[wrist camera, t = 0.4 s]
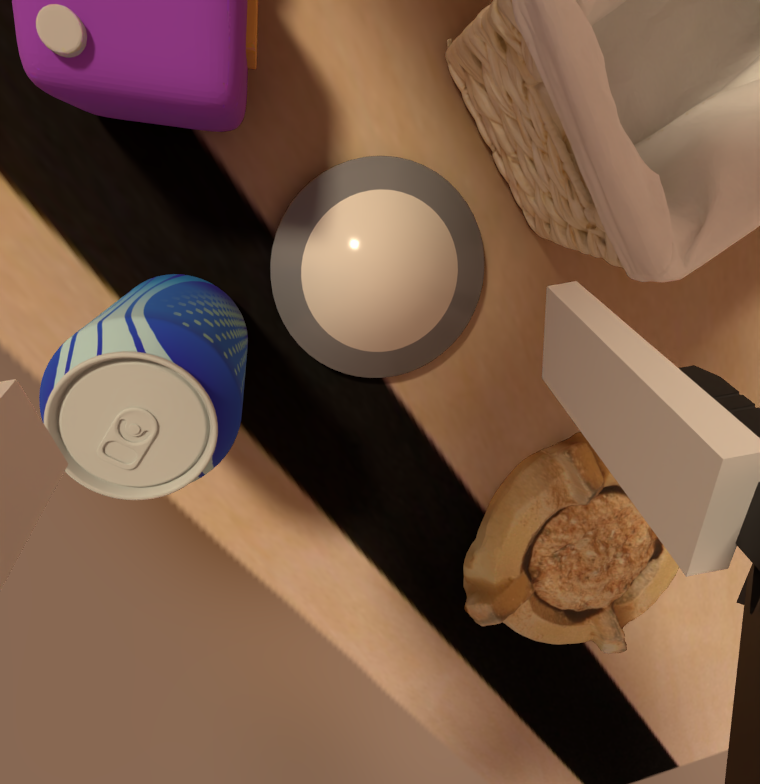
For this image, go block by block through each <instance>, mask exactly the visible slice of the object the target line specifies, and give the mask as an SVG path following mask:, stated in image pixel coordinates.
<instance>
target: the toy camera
mask: <svg viewBox="0 0 760 784" xmlns="http://www.w3.org/2000/svg"><path fill="white" fill-rule="evenodd" d="M12 4H13V12H14V21H15V29H16V37H17V43H18V49H19V55H20V58H21V61H22V65H23V68H24V70H25V72H26V74H27V76H28V77H29V78H30V79H31V81H32V82H33V83H34V84H35V85H36V86H37V87H39V88H40V89H42V90H43V91H45V92H46V93H48V94H50V95H52V96H54V97H56V98H58V99H60V100H62V101H64V102H66V103H69V104H71V105H73V106H75V107H78V108H80V109H82V110H84V111H87V112H90V113H92V114H95V115H99V116H103V117H108V118H115V119H121V120H128V121H136V122H143V123H151V124H159V125H166V126H174V127H181V128H189V129H196V130H205V131H218V132H223V131H231V130H233V129H235V128H237V127H238V126H239V125H240V124H241V122H242V120H243V118H244V115H245V110H246V103H247V79H248V68H250V69H256V68H257V25H258V0H12Z"/></svg>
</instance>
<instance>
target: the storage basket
mask: <svg viewBox="0 0 760 784" xmlns="http://www.w3.org/2000/svg"><path fill="white" fill-rule="evenodd" d="M447 47H448V48H447V51H446V53H445V57H446V60H447V63H448V68H449V71H450V74H451V76H452V78H453V80H454V82H455V83H456V85H457V87H458V88H459V90H460V91H461V92H462V97H463V100H464V103H465V105H466V107H467V108H468V110H469V111H470V113H471V115H472V116H473V118H474V119H475V121H476V124H477V127H478V130H479V132H480V134H481V136H482V137H483V139H484V141H485V143H486V144H487V145H488V146H489V147H490V148H491V150H492V152H493V154H492V156H493V159H494V161H495V163H496V165H497V168H498V170H499V172H500V173H501V175H502V176H503V177H504V179H505V180H506V181H507V182H508V183H509V186H510V189H511V192H512V194H513V196H514V199H515V200H516V202H517V204H518V205H519V206H520V207H521V209H522V210H523V214H524V216H525V218H526V220H527V222H528V224H529V225H530V227H531V229H532V230H533V231H534V232H535V233H536V234H537V235H538V236H540V237H541V238H543V239H548V240H550V241H553V242H554V243H555V244H559V245H562V246H563V247H565V248H570V249H573V250H578V251H580V252H581V253H583V254H586V255H588V254H590V255H591V256H593V257H596V258H600V257H602V258H603V259H604V260H606V262H608V263H609V264H611V265H613V266H617V267H622V268H623V269H625V271H626V274H627V276H629V277H630V278H631V279H633V280H637V281H640V282H649V281H653V282H669V281H676V280H680V279H682V278H684V277H685V276H687V275H688V274H690V273H691V272H693V271H694V270H696V269H697V268H699V267H701V266H702V265H704V264H705V263H707V262H708V261H709V260H711V259H712V258H714V257H715V256H717V255H718V254H720V253H721V252H723V251H724V250H726V249H727V248H728V247H730V246H731V245H733V244H734V243H736V242H737V241H739V240H740V239H742V238H743V237H745V236H746V235H747V234H749V233H750V232H752V231H753V230H755V229H756V228H758V227H759V226H760V0H493V2H492V3H491V4H490V5H488V6H486V7H485V8H484V9H482V10H481V11H480V13H479V14H478V15H477V17H476V18H475V19H474V20H473V21H472V22H470V24H469V25H468V26H467V27H466V28H465V29H464V30H463V32H462V33H461V34H460V35H459V36H458V37H457V38H456V39H455V40H454V41H453V42H452V39H448V40H447Z"/></svg>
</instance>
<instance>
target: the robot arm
mask: <svg viewBox="0 0 760 784" xmlns="http://www.w3.org/2000/svg"><path fill="white" fill-rule="evenodd" d="M542 379H543V380H544V382H545V383H546V384H547V386H548V387H549V389H550V390H551V391H552V393H553V394H554V395H555V397H556V398H557V400H558V401H559V402H560V404H561V405H562V406H563V408H564V409H565V411H566V412H567V413H568V415H569V416H570V417H571V419H572V420H573V422H574V423H575V424H576V426H577V427H578V428H579V430H580V431H581V433H582V434H583V435H584V437H585V438H586V439H587V441H588V442H589V444H590V445H591V446H592V448H593V449H594V450H595V452H596V453H597V455H598V456H599V457H600V459H601V460H602V461H603V463H604V464H605V466H606V467H607V468H608V470H609V471H610V472H611V474H612V475H613V477H614V478H615V479H616V481H617V482H618V483H619V485H620V486H621V488H622V489H623V490H624V492H625V493H626V494H627V496H628V497H629V499H630V500H631V501H632V503H633V504H634V505H635V507H636V508H637V510H638V511H639V512H640V514H641V515H642V516H643V518H644V519H645V521H646V522H647V523H648V525H649V526H650V527H651V529H652V530H653V532H654V533H655V534H656V536H657V537H658V538H659V540H660V541H661V543H662V544H663V545H664V547H665V548H666V549H667V551H668V552H669V554H670V555H671V556H672V558H673V559H674V560H675V562H676V563H677V565H678V566H679V567H680V569H681V570H682V571H683V573H684V574H685V576H686V577H687V576H692V575H697V574H702V573H707V572H712V571H717V570H722V569H727V568H728V567H729V565H730V562H731V560H732V557H733V554H734V552H735V549H736V546H738V547H739V548H740V549H741V550H742V551H743V553H744V554H745V555H746V556H747V557H748V558H749V559H750V561H751V562H752V563H753V564H752V566H751V569H750V571H749V573H748V576H747V578H746V581H745V583H744V585H743V588H742V590H741V593H740V595H739V597H738V600H737V603H740V604H742V605H744V613H743V622H742V631H741V640H740V649H739V659H738V668H737V677H736V686H735V695H734V704H733V713H732V722H731V731H730V740H729V749H728V759H727V767H726V778H725V784H760V408H755V404H754V403H753V402H751V401H750V400H749V399H747V398H746V397H745V396H744V395H739V391H737V390H736V389H735V388H734V387H732V386H731V385H730V384H729V383H727V382H726V381H725V380H724V379H722V378H721V377H719V376H717V375H715V374H713V373H710V372H708V371H706V370H703V369H701V368H699V367H696V366H694V365H693V366H688V367H683V368H677V367H676V366H675V365H674V364H673V363H672V362H670V361H669V360H668V359H667V358H666V357H665V356H663V355H662V354H661V353H660V352H659V351H658V350H656V349H655V348H654V347H653V346H652V345H651V344H649V343H648V342H647V341H646V340H645V339H644V338H642V337H641V336H640V335H639V334H638V333H637V332H635V331H634V330H633V329H632V328H631V327H630V326H628V325H627V324H626V323H625V322H624V321H623V320H621V319H620V318H619V317H618V316H617V315H616V314H614V313H613V312H612V311H611V310H610V309H609V308H607V307H606V306H605V305H604V304H603V303H602V302H600V301H599V300H598V299H597V298H596V297H595V296H593V295H592V294H591V293H590V292H589V291H588V290H586V289H585V288H584V287H583V286H582V285H581V284H579V283H578V282H577V281H573V282H568V283H562V284H556V285H551V286H547V292H546V310H545V329H544V348H543V367H542ZM67 466H68V462H67V461H66V459H65V458H64V456H63V454H62V453H61V451H60V449H59V448H58V446H57V444H56V443H55V441H54V440H53V438H52V436H51V435H50V433H49V431H48V430H47V428H46V427H45V425H44V423H43V422H42V420H41V418H40V417H39V415H38V413H37V412H36V410H35V409H34V407H33V405H32V404H31V402H30V400H29V399H28V397H27V396H26V394H25V392H24V391H23V389H22V387H21V386H20V384H19V383H18V381H17V379H14V380H8V381H3V382H0V590H1V589H2V587H3V585H4V583H5V581H6V579H7V578H8V576H9V574H10V572H11V570H12V568H13V566H14V565H15V563H16V561H17V559H18V557H19V555H20V553H21V551H22V550H23V548H24V546H25V544H26V542H27V540H28V539H29V536H30V535H31V533H32V531H33V529H34V527H35V525H36V524H37V522H38V520H39V518H40V516H41V514H42V513H43V511H44V509H45V507H46V505H47V503H48V501H49V499H50V498H51V496H52V494H53V492H54V490H55V488H56V486H57V484H58V483H59V481H60V479H61V477H62V475H63V473H64V472H65V470H66V468H67Z"/></svg>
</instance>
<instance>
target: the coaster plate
mask: <svg viewBox="0 0 760 784" xmlns="http://www.w3.org/2000/svg"><path fill="white" fill-rule="evenodd" d="M270 274H271V284H272V291H273V296H274V299H275V303H276V306H277V309H278V312H279V314H280V316H281V319H282V321H283V323H284V324H285V326H286V328H287V329H288V331H289V333H290V334H291V335H292V337H293V338H294V339H295V340H296V342H297V343H298V344H299V345H300V346H301V347H302V348H303V349H304V350H305V351H306V352H307V353H308V354H309V355H311V356H312V357H313V358H315V359H316V360H317V361H319V362H320V363H322V364H324V365H326V366H328V367H330V368H331V369H334V370H337V371H339V372H342V373H345V374H349V375H353V376H357V377H366V378H384V377H391V376H397V375H400V374H404V373H408V372H410V371H413V370H415V369H418V368H420V367H422V366H424V365H426V364H427V363H429V362H431V361H432V360H434V359H435V358H437V357H438V356H439V355H441V354H442V353H443V352H444V351H445V350H446V349H448V348H449V347H450V346H451V345H452V344H453V343H454V341H455V340H456V339H457V338H458V337H459V336H460V335H461V333H462V332H463V330H464V329H465V327H466V326H467V324H468V323H469V321H470V319H471V317H472V315H473V313H474V311H475V308H476V306H477V303H478V300H479V297H480V293H481V289H482V285H483V277H484V251H483V243H482V239H481V235H480V231H479V228H478V225H477V223H476V220H475V218H474V215H473V213H472V212H471V210H470V208H469V206H468V204H467V203H466V201H465V200H464V199H463V197H462V196H461V195H460V193H459V192H458V191H457V190H456V189H455V188H454V187H453V186H452V185H451V184H450V183H449V182H448V181H447V180H446V179H444V178H443V177H442V176H440V175H439V174H438V173H436V172H435V171H433V170H431V169H429V168H427V167H426V166H424V165H421V164H419V163H416V162H413V161H411V160H407V159H402V158H398V157H390V156H371V157H363V158H358V159H354V160H350V161H347V162H344V163H342V164H339V165H336V166H334V167H332V168H330V169H328V170H327V171H325V172H323V173H321V174H320V175H319V176H317V177H316V178H314V179H313V180H312V181H310V182H309V183H308V184H307V185H306V186H305V187H304V188H303V189H302V190H301V191H300V192H299V193H298V194H297V196H296V197H295V198H294V200H293V201H292V202H291V203H290V205H289V206H288V208H287V210H286V212H285V213H284V215H283V217H282V219H281V221H280V224H279V226H278V229H277V231H276V234H275V238H274V242H273V246H272V252H271V261H270Z"/></svg>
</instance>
